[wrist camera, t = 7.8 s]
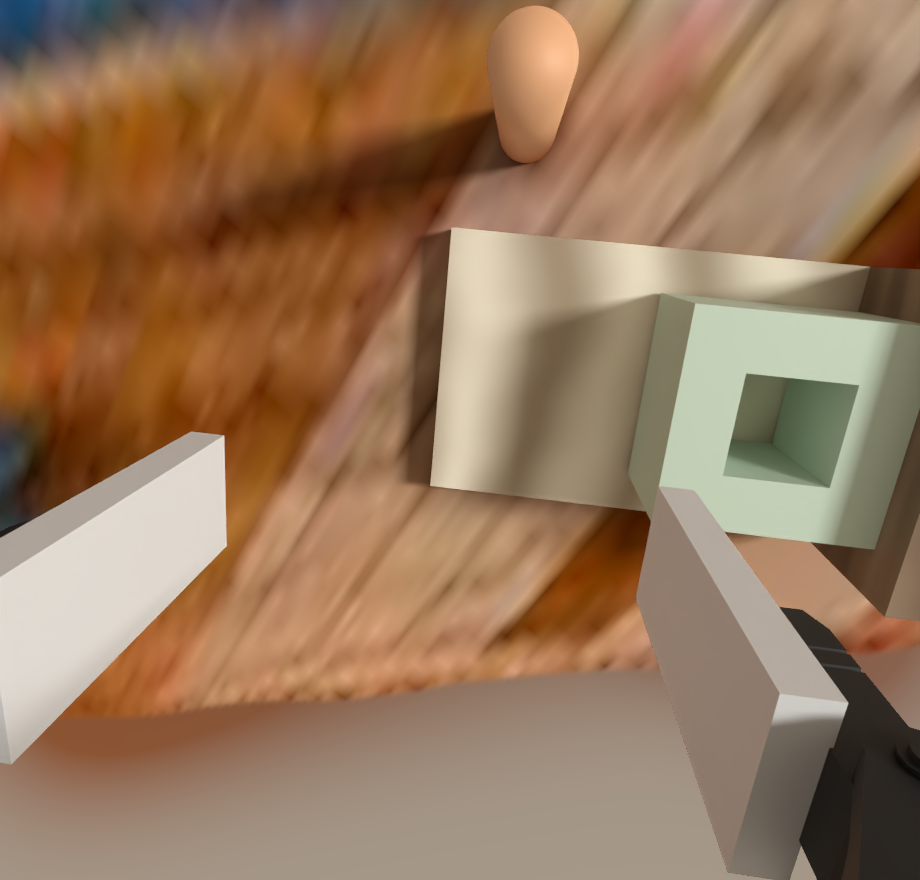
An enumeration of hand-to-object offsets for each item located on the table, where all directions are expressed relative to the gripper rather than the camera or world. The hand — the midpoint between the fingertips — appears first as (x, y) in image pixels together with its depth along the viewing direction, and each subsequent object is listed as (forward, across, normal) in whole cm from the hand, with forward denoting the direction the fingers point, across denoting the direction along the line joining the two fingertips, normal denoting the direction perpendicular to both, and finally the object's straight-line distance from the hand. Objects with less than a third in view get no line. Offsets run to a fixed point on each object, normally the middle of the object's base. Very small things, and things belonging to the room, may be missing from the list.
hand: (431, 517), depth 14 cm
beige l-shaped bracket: (+20, +9, 0) cm, 22 cm away
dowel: (+20, +1, +11) cm, 22 cm away
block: (+18, +12, 0) cm, 22 cm away
